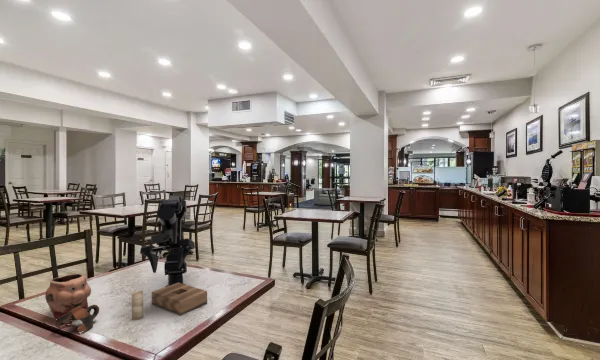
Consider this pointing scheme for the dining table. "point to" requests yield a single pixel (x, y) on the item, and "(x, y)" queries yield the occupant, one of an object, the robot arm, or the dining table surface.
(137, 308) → the maple dowel
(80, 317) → the pottery mug
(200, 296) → the walnut socket block
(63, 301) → the decorative planter
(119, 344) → the dining table surface
